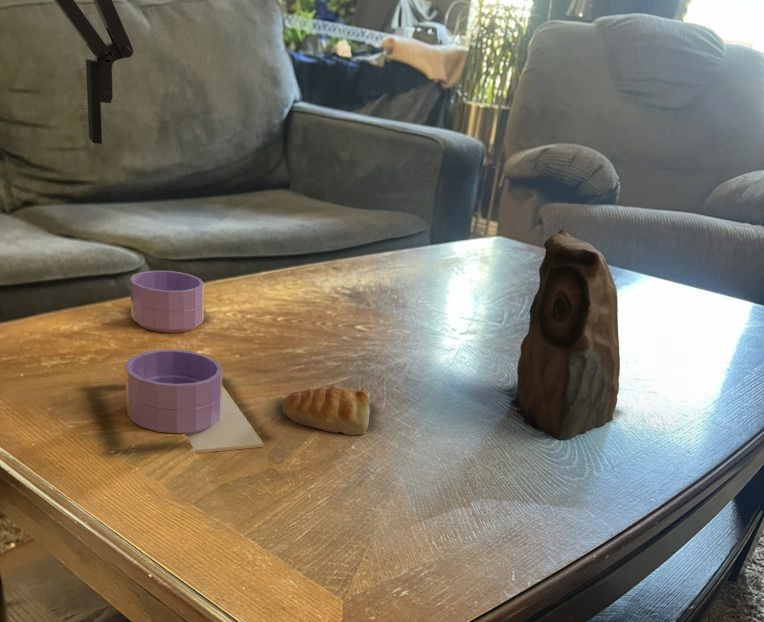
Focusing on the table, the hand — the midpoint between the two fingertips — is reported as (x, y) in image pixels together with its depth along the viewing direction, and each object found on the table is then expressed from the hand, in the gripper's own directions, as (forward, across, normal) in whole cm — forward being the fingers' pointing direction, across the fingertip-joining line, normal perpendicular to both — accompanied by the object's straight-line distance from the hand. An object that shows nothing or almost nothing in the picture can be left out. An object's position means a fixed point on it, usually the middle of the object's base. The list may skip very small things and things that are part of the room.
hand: (15, 134), depth 69 cm
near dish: (+23, +12, -12) cm, 29 cm away
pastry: (+24, +28, -14) cm, 39 cm away
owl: (+23, +56, -18) cm, 63 cm away
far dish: (+24, +17, +17) cm, 34 cm away
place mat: (+24, +12, -12) cm, 29 cm away
